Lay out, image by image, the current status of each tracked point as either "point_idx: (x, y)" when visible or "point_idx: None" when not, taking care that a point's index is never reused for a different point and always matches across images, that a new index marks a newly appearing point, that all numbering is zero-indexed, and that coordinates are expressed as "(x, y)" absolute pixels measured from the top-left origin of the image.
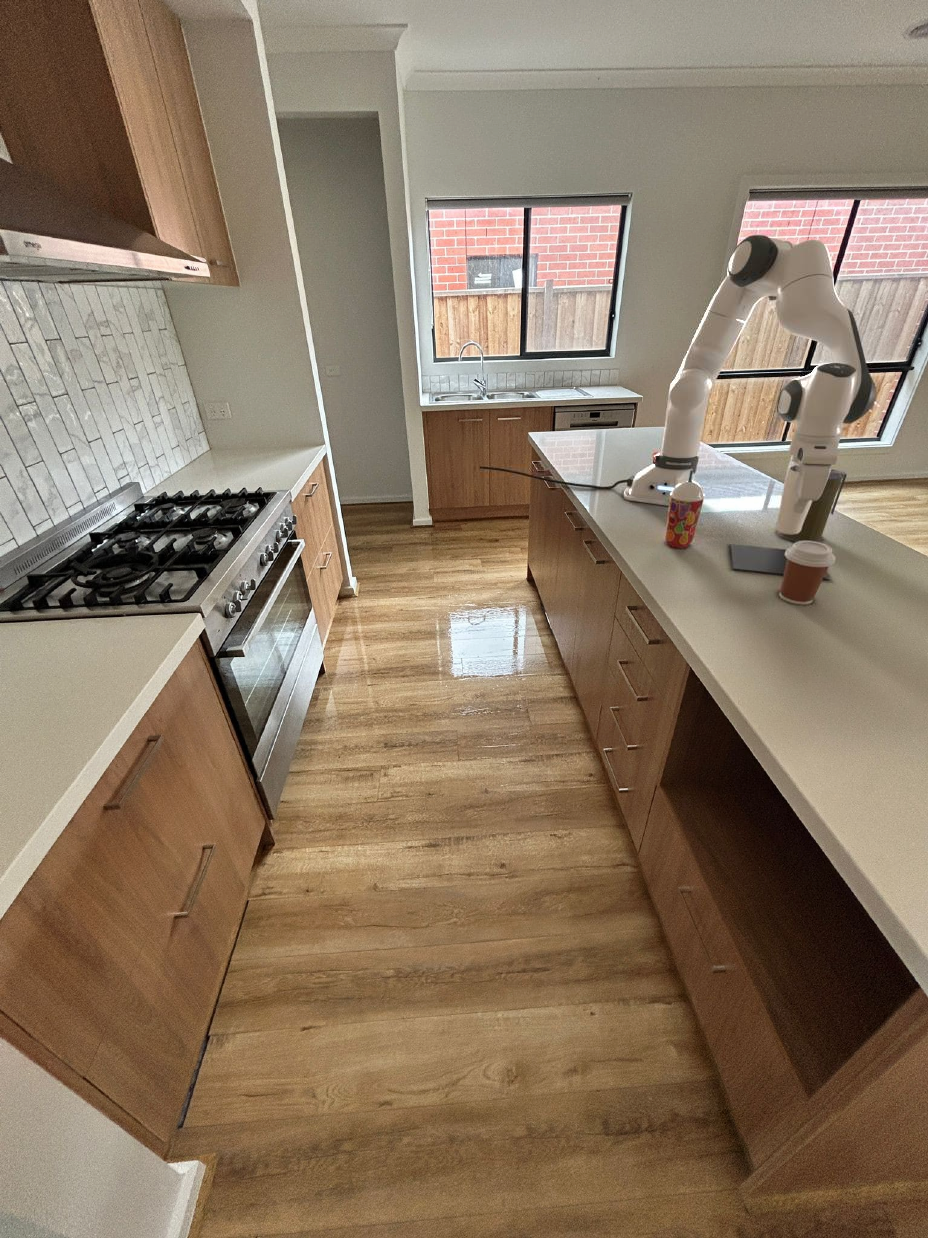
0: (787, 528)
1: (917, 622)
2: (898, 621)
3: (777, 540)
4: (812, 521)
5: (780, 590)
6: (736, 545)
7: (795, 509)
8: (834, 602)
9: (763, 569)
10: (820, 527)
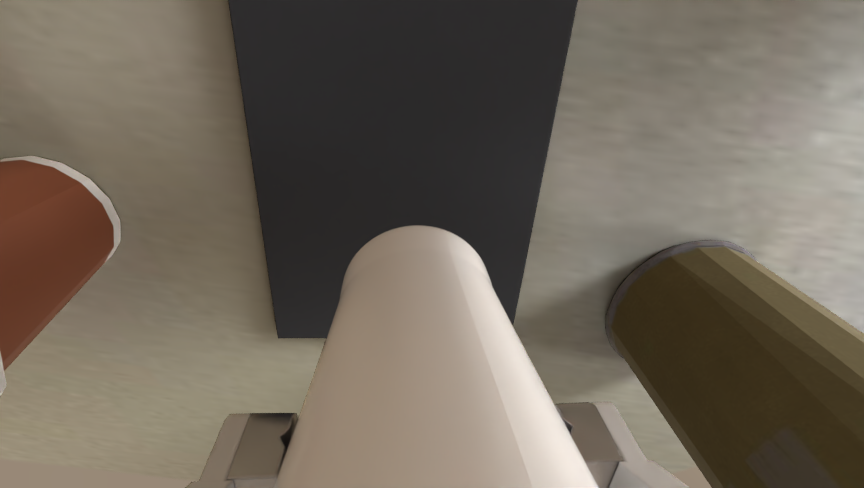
0: (341, 291)
1: (90, 467)
2: (66, 439)
3: (639, 228)
4: (658, 385)
5: (12, 162)
6: (562, 20)
7: (219, 438)
8: (94, 326)
9: (273, 123)
10: (646, 390)
